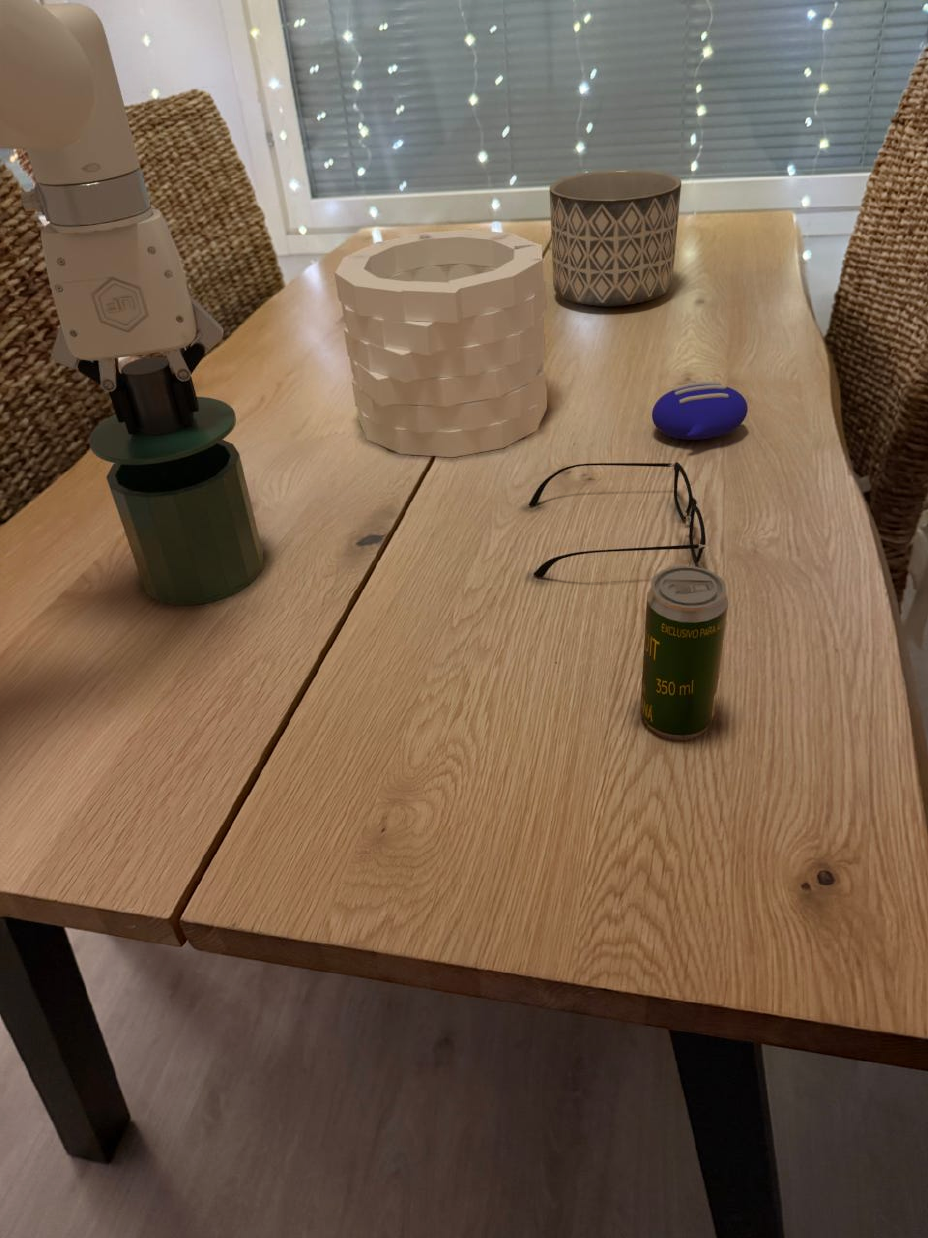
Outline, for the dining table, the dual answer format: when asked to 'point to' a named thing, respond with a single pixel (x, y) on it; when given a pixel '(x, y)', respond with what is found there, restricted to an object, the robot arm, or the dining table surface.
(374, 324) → the basket
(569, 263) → the planter
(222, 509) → the canister
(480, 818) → the dining table surface
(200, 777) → the dining table surface
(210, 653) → the dining table surface
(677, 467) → the eyeglasses
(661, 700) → the green soda can
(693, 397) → the decorative object
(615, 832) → the dining table surface
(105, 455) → the lid
